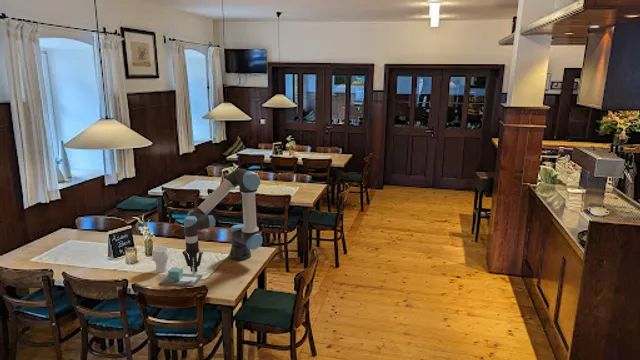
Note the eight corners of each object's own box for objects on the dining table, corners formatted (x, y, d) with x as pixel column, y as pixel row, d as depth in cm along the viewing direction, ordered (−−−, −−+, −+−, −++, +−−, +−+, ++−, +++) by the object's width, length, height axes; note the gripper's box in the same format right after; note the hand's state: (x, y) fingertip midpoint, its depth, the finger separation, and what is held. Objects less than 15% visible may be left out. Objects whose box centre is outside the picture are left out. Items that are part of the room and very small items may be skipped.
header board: (202, 276, 287) (201, 269, 285) (192, 287, 273) (192, 279, 272) (169, 274, 290) (169, 267, 288) (159, 284, 276) (158, 277, 275)
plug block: (183, 276, 283) (182, 268, 282) (179, 280, 278) (178, 272, 276) (172, 276, 284) (172, 267, 283) (168, 280, 279) (168, 271, 277)
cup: (156, 266, 300) (154, 246, 297) (172, 266, 301) (170, 245, 297) (151, 273, 290) (149, 252, 286) (168, 273, 291) (166, 252, 287)
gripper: (204, 239, 276) (206, 274, 282) (184, 238, 278) (187, 273, 284) (199, 244, 269) (202, 279, 275) (179, 243, 271) (182, 278, 277)
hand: (194, 276), depth 280 cm, fingers closed
